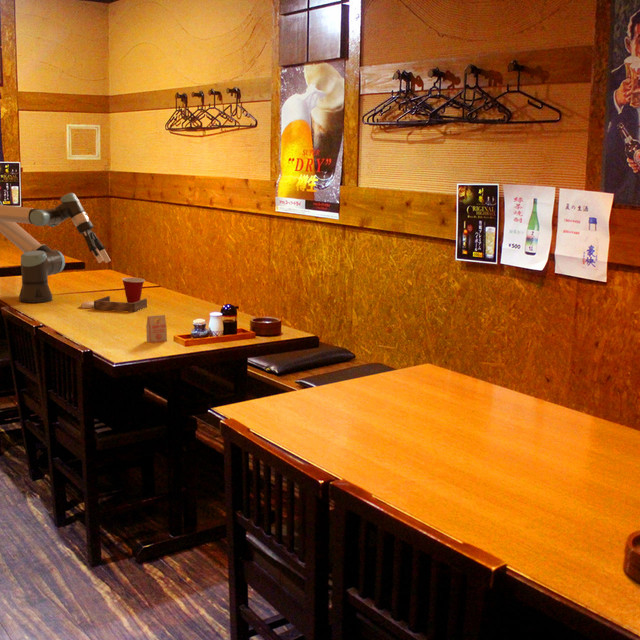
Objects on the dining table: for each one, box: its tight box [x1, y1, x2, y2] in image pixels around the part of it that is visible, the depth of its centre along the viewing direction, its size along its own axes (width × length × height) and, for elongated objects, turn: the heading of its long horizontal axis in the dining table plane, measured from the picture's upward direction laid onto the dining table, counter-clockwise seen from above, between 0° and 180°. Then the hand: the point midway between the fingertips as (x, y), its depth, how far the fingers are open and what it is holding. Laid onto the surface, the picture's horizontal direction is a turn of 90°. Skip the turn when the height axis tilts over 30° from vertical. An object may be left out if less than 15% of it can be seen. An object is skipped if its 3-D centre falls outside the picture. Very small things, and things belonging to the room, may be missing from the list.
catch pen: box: [93, 295, 148, 313], centre depth 352 cm, size 20×13×4 cm, turn 77°
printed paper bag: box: [145, 314, 168, 344], centre depth 291 cm, size 4×7×10 cm, turn 120°
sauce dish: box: [80, 301, 94, 309], centre depth 354 cm, size 8×8×2 cm
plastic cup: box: [121, 277, 146, 303], centre depth 364 cm, size 11×11×12 cm
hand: (104, 261), depth 371 cm, fingers open, 13 cm apart
